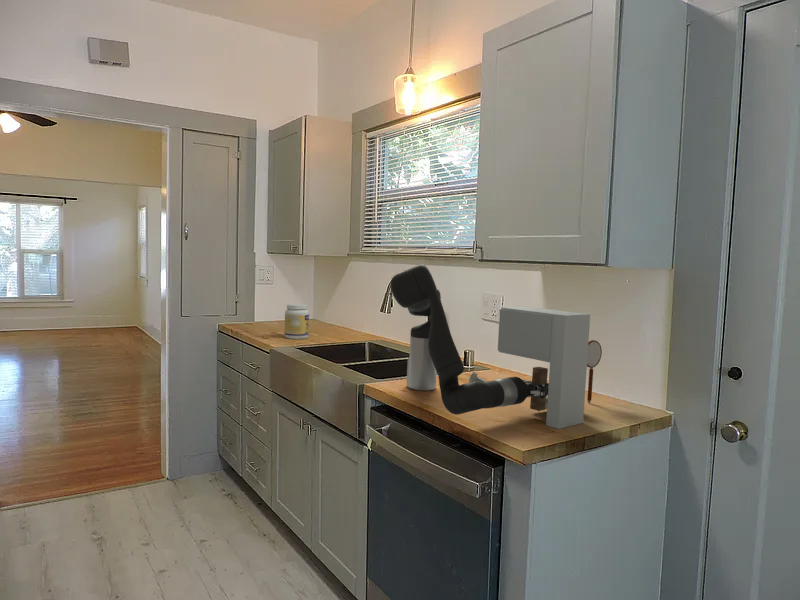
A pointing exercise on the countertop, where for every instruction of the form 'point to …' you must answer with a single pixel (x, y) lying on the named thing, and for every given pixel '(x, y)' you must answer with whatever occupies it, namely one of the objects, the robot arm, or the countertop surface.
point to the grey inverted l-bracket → (551, 355)
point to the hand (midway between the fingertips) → (545, 385)
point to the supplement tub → (297, 321)
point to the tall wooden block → (540, 378)
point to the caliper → (475, 378)
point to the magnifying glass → (592, 362)
